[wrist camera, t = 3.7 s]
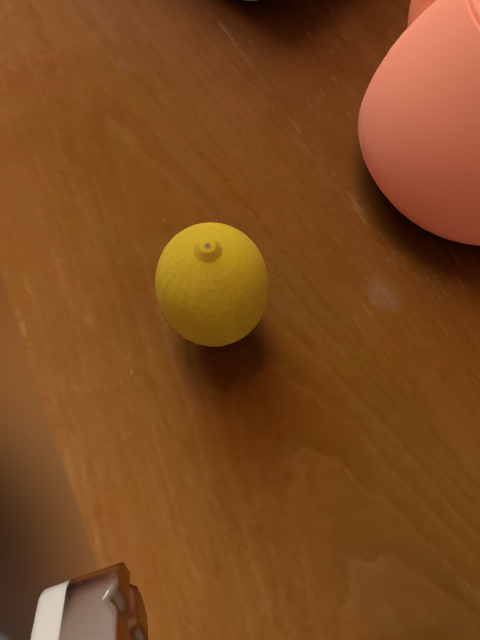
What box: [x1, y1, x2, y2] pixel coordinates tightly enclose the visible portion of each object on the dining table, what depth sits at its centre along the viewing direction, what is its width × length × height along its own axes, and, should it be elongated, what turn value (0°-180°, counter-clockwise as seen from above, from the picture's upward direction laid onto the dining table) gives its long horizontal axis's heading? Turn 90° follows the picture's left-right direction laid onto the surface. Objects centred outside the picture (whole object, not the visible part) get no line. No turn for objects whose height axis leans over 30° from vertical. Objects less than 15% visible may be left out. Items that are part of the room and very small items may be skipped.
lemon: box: [155, 222, 269, 347], centre depth 21 cm, size 6×6×8 cm
